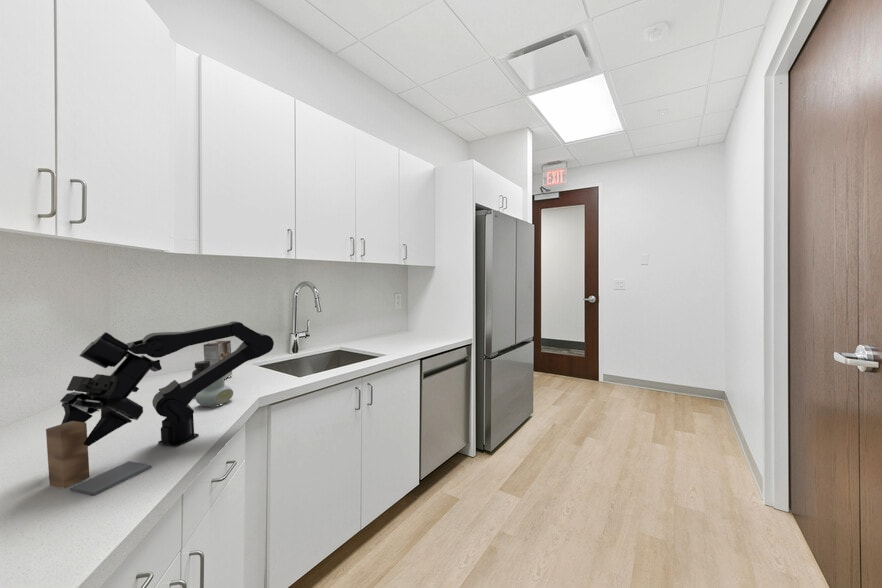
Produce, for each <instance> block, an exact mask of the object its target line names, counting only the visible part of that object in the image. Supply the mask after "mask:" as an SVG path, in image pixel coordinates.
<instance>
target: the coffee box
mask: <svg viewBox="0 0 882 588" xmlns="http://www.w3.org/2000/svg"><path fill="white" fill-rule="evenodd" d="M231 345H232V344H231V340H214V341H210V342H207V343H203V358H204V360H203V361H210V365H211V366H212V365H213V364H215V363H216V362H218V361H220V360H221V359H223V358H224V357H226V356H228V355H229V354H231V353H232V347H231ZM231 375H232V376H233V370H232V371H231V372H229V373H228V374H226V375H225V376H224V379H225V378H227V377H229V376H231ZM229 378H230V377H229ZM227 379H228V378H227ZM225 380H226V379H225Z"/></svg>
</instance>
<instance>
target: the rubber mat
mask: <svg viewBox="0 0 882 588" xmlns="http://www.w3.org/2000/svg"><path fill="white" fill-rule="evenodd" d="M151 468H152V464H148V463H144V462H137V461H131V460H129V461H126V462H123V463H122V464H120V465H119V464H118V465H117V466H115V467H113V468H110V469H107V470H106V471H104V472H102V473H99V474H97V475H95V476H93V477H91V478H90V477H89V479H88V478H87V479H85V480H84V481H80V482H78V483H76V484H74V485H73V486H69V491H71V492H75V493H79V494H85V495H88V496H96V495H98V494H100V493H103V492H104V491H105V492H106V491H107V490H109V489H111V488H113V487H115V486H116V485H118V484H121V483H123V482H125V481H127V480H129V479H131V478H133V477H135V476H137V475H139V474H141V473H143V472H145V471H147V470H150V469H151Z"/></svg>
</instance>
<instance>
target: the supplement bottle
mask: <svg viewBox="0 0 882 588" xmlns="http://www.w3.org/2000/svg"><path fill="white" fill-rule="evenodd" d="M210 366H211V365H210V361H204V360H201V361H195V362H194V368H195V369H194V370H192V372H191V378H193V377H194V376H196V375H197V374H199V373H200V372H202V371H204V370H205V369H207V368H208V367H210Z"/></svg>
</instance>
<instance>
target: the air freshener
mask: <svg viewBox="0 0 882 588" xmlns="http://www.w3.org/2000/svg"><path fill="white" fill-rule="evenodd" d="M233 395H234V391H233V389H232V387H230V386H228V385H225V380H224V376H223V377H222V378H220V379H219V380H217V381H216V382H214V383H213V384H211V385H210V386H208V387H207V388H205V389H204V390H202V391H201V392H199V393H198V394H197V395H196V396H195V401H196V403H197V404H199V405H200V406H203V407H209V406H211V407H218V406H217V405H220V404H223V405H224V404H225V403H227V402H228V401H230V400H231V399H232V397H233ZM220 406H221V405H220Z"/></svg>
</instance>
